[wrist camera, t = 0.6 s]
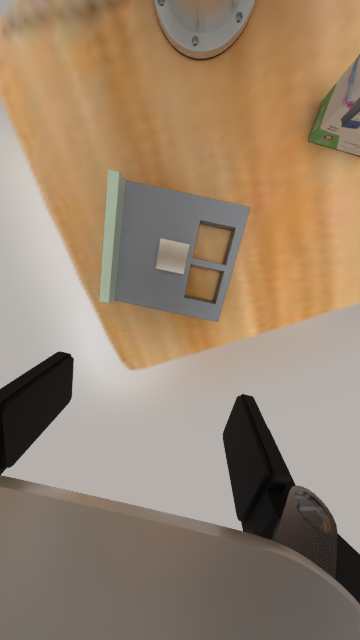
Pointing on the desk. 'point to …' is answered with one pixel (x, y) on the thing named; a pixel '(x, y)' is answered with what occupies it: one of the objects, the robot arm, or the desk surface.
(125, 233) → the trap deck
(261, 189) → the desk surface
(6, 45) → the desk surface
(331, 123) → the ink box
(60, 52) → the desk surface
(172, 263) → the cream block
